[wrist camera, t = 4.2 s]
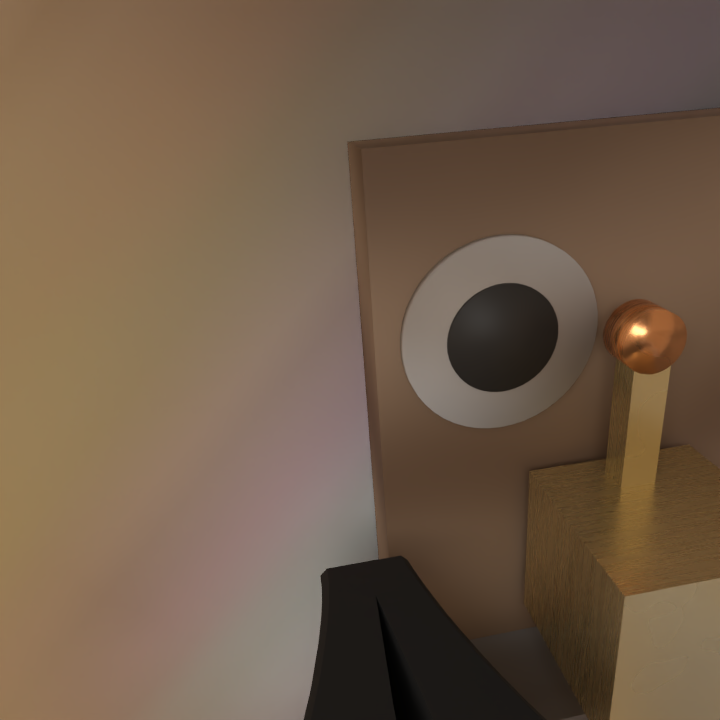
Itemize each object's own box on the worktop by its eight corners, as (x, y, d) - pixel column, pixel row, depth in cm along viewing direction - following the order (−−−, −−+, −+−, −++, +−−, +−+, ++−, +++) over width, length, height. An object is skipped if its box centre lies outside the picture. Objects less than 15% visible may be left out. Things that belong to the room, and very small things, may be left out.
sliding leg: (668, 575, 13) (786, 708, 10) (524, 603, 12) (605, 750, 10) (714, 282, 10) (886, 354, 8) (536, 306, 10) (650, 390, 7)
